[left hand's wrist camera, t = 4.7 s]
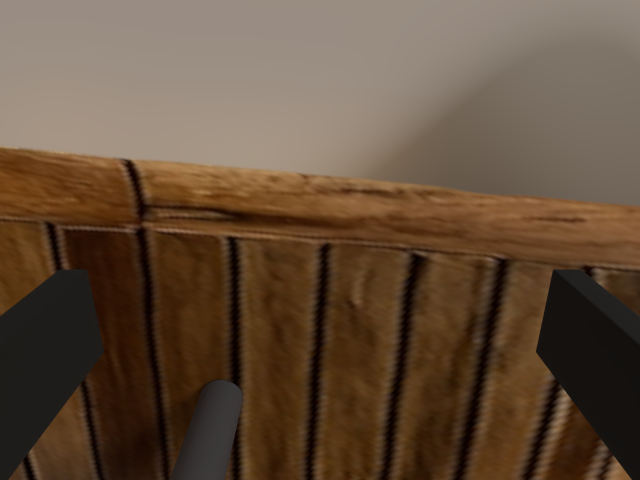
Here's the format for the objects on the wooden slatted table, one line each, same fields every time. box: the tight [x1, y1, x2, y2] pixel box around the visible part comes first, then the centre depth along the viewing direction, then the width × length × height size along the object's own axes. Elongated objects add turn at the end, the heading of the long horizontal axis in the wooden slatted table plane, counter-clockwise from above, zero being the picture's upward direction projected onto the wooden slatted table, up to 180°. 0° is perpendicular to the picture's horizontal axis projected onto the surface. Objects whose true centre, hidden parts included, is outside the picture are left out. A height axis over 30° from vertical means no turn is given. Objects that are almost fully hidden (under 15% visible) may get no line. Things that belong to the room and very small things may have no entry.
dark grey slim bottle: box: [170, 380, 243, 480], centre depth 40 cm, size 4×4×20 cm
